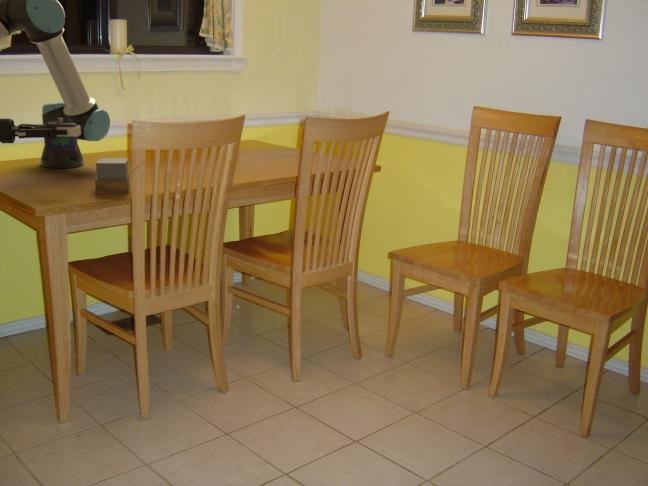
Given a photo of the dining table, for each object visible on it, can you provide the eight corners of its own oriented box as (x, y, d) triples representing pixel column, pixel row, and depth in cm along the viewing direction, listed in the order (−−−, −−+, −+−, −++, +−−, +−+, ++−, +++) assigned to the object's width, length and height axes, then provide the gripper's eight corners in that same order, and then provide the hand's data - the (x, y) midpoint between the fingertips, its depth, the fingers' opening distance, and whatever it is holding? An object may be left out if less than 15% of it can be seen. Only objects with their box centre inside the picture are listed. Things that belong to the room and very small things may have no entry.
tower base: (98, 188, 250) (98, 173, 248) (130, 187, 252) (129, 172, 250) (95, 194, 240) (94, 179, 239) (128, 194, 242) (127, 179, 241)
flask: (78, 151, 238) (76, 117, 235) (76, 153, 236) (74, 118, 232) (48, 151, 238) (45, 116, 234) (46, 152, 235) (43, 118, 232)
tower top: (100, 173, 248) (99, 158, 247) (128, 173, 250) (127, 158, 248) (96, 178, 240) (96, 163, 238) (126, 178, 241) (125, 163, 240)
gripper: (6, 138, 240) (83, 138, 244) (-6, 147, 225) (76, 147, 229) (4, 115, 238) (82, 115, 242) (-8, 122, 223) (75, 122, 227)
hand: (79, 131), depth 236 cm, fingers closed on flask, 3 cm apart
